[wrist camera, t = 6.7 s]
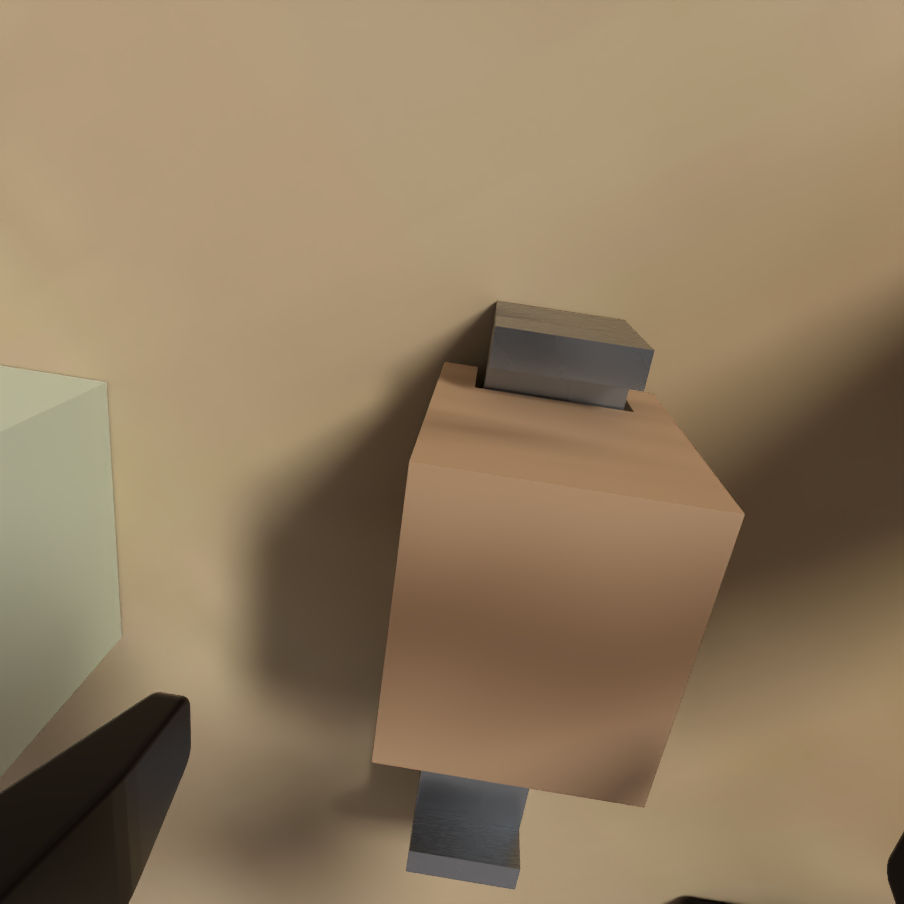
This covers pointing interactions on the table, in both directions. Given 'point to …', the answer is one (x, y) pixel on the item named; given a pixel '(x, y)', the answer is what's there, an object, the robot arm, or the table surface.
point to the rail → (558, 378)
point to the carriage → (548, 590)
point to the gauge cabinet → (53, 547)
